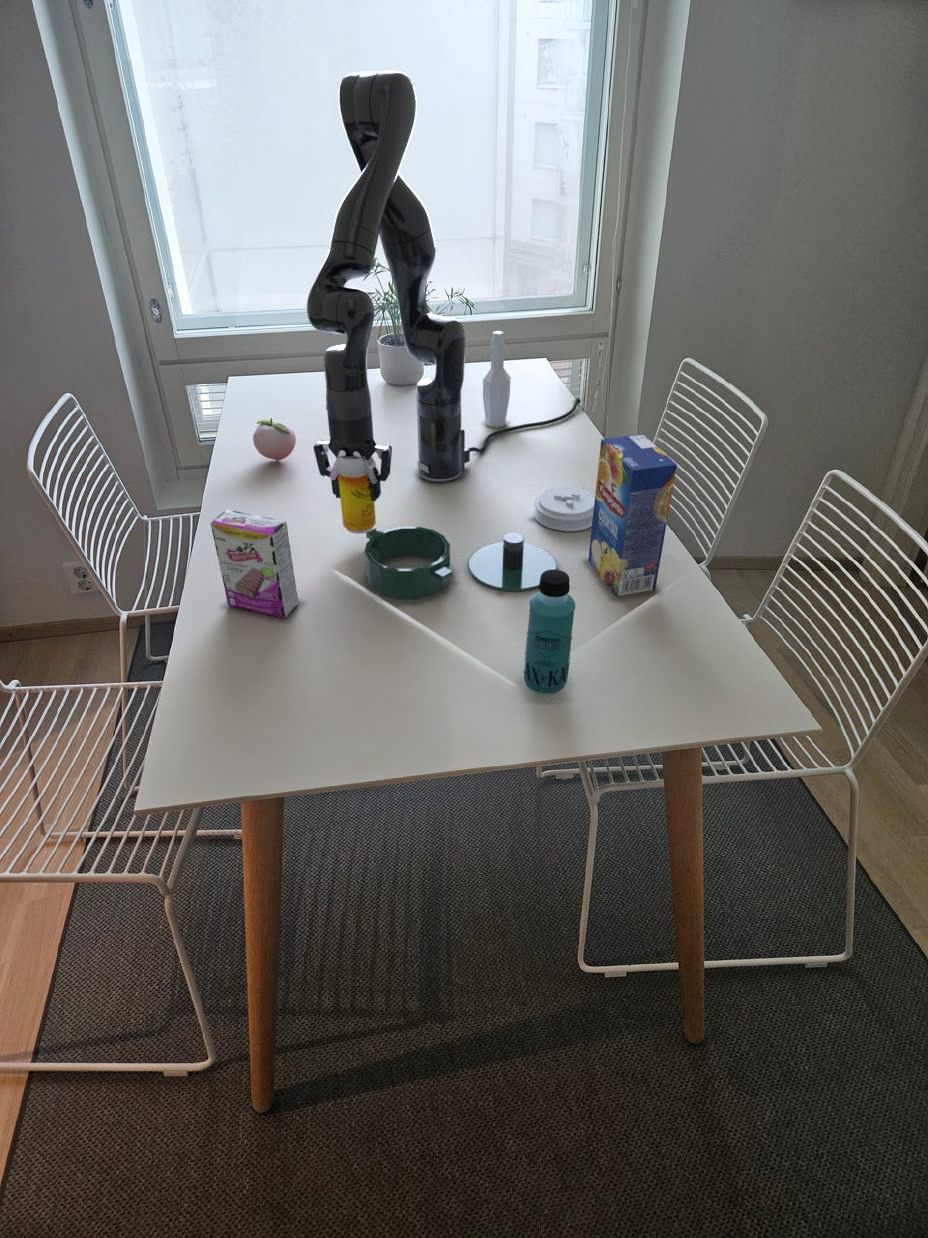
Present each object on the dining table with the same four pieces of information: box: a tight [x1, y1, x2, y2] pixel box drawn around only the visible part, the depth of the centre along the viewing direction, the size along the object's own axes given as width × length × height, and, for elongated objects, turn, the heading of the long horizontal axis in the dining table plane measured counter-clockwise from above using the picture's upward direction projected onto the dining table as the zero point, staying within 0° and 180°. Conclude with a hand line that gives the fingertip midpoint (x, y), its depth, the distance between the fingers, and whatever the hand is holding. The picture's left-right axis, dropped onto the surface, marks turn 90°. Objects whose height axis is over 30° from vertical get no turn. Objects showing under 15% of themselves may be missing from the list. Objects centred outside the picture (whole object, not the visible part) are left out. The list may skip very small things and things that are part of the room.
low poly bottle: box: [482, 330, 511, 429], centre depth 190 cm, size 6×6×22 cm
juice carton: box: [587, 433, 678, 597], centre depth 135 cm, size 12×8×24 cm, turn 16°
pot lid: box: [468, 532, 557, 593], centre depth 142 cm, size 16×16×7 cm
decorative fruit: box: [252, 417, 297, 462], centre depth 177 cm, size 9×8×10 cm
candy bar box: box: [209, 508, 299, 619], centre depth 130 cm, size 11×5×16 cm, turn 71°
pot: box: [364, 526, 454, 601], centre depth 140 cm, size 15×20×6 cm
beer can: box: [337, 456, 377, 534], centre depth 146 cm, size 6×6×15 cm
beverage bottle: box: [522, 569, 576, 695], centre depth 113 cm, size 6×7×20 cm
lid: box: [533, 486, 595, 532], centre depth 157 cm, size 13×13×5 cm
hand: (357, 497), depth 147 cm, fingers closed on beer can, 6 cm apart
